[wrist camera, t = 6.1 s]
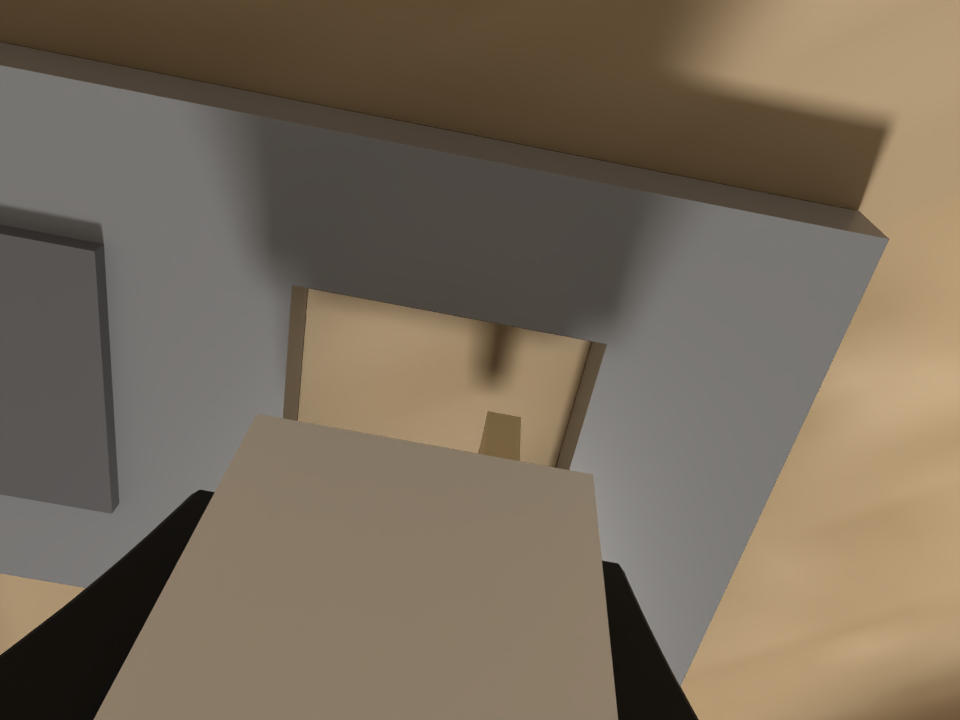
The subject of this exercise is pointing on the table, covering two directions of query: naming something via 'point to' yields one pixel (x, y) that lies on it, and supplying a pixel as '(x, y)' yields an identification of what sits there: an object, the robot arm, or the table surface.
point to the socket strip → (390, 279)
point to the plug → (380, 588)
